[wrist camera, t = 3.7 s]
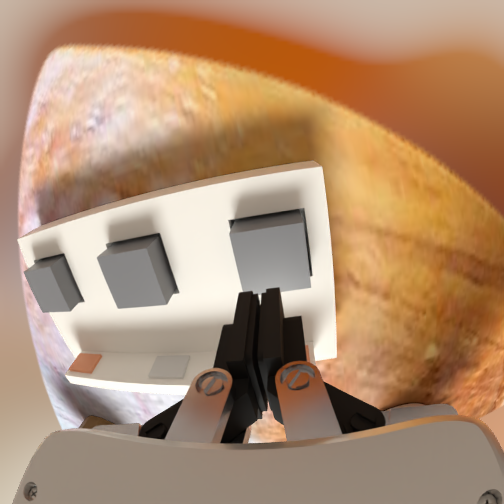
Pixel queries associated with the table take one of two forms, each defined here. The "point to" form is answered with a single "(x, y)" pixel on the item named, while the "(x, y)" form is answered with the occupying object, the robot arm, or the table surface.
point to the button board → (184, 276)
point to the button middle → (138, 272)
